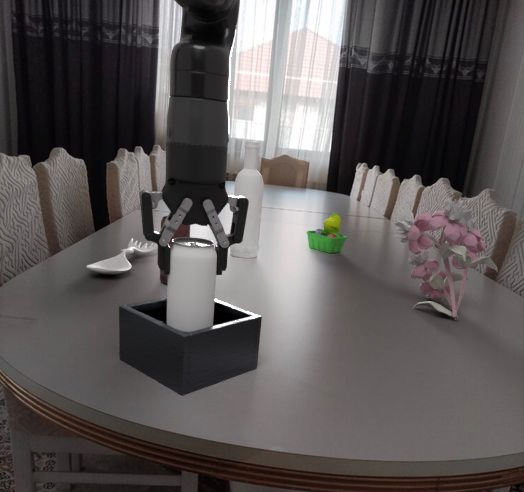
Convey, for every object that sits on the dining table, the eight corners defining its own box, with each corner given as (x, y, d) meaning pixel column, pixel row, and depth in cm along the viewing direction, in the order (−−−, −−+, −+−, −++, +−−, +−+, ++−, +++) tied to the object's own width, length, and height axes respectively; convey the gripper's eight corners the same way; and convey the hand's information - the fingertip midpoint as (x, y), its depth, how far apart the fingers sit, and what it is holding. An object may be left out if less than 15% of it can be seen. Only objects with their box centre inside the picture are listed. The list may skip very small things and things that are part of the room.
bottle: (247, 259, 141) (257, 141, 130) (224, 254, 144) (231, 138, 133) (263, 255, 147) (273, 142, 136) (240, 250, 151) (248, 140, 140)
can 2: (211, 319, 76) (215, 238, 72) (214, 335, 70) (220, 248, 66) (166, 318, 75) (168, 235, 70) (166, 334, 69) (168, 245, 65)
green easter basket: (303, 247, 165) (307, 210, 161) (321, 245, 171) (326, 210, 166) (330, 254, 157) (335, 217, 153) (348, 252, 163) (354, 216, 159)
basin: (181, 395, 66) (184, 337, 63) (119, 359, 74) (118, 306, 71) (257, 368, 76) (262, 316, 73) (194, 338, 84) (196, 291, 81)
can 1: (160, 286, 110) (161, 219, 105) (159, 278, 116) (160, 214, 110) (189, 287, 111) (191, 221, 106) (186, 279, 117) (189, 216, 112)
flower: (523, 311, 111) (505, 197, 111) (481, 319, 95) (460, 185, 95) (436, 325, 126) (420, 223, 126) (387, 333, 110) (368, 217, 110)
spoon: (163, 253, 139) (164, 240, 138) (120, 282, 110) (120, 266, 108) (131, 249, 140) (131, 236, 139) (79, 277, 110) (78, 261, 109)
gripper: (245, 144, 69) (236, 267, 75) (134, 134, 65) (134, 265, 71) (262, 147, 62) (250, 281, 69) (140, 136, 58) (139, 280, 64)
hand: (192, 273), depth 70 cm, fingers closed on can 2, 6 cm apart
